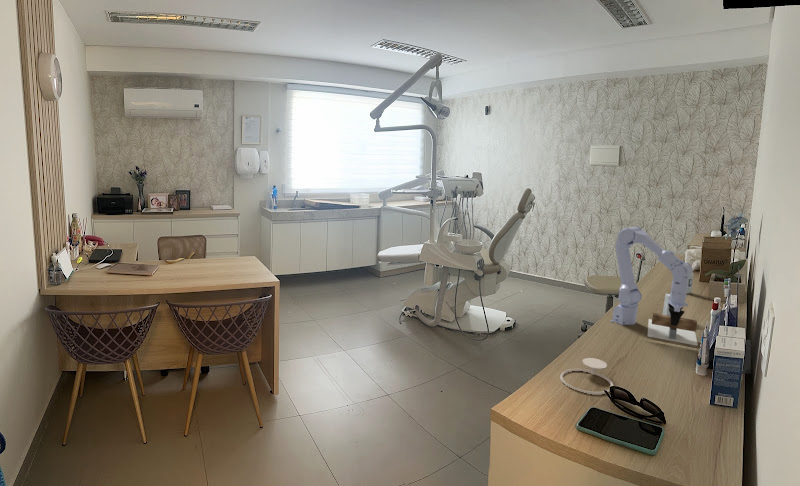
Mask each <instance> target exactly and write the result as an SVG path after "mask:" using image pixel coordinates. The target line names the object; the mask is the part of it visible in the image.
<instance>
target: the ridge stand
mask: <svg viewBox="0 0 800 486" xmlns="http://www.w3.org/2000/svg"><path fill="white" fill-rule="evenodd" d="M647 337H650V338H655V339H658V340H657V341H658V342H659V341H660V340H663V341H662V342H664V343H665V341H670V342H672V344H674V345H675V343H673V342H676V343H677V345H680V344H678V343H681V344H685V345H691V346H693V348H696V347H694V346H697V347H698V340H697V339H698V338H697V335H696V332H694V331H688V330H682V329H677V328H671V327H666V326H660V325H655V324H652V319H651V318H648V324H647ZM646 339H648V338H646ZM648 340H649V339H648ZM664 340H665V341H664ZM670 342H667V343H670ZM691 346H688V347H690V348H691Z"/></svg>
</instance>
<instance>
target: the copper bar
mask: <svg viewBox="0 0 800 486" xmlns="http://www.w3.org/2000/svg"><path fill="white" fill-rule="evenodd" d="M652 324H655V325H660V326H666V327H671V328H677V329H682V330H688V331H694V332H695V333H696V331H697V326H698V321H697V319H690V318H687V317H686V318H685V317H684V318H683V317H681V318H680V320H679V323H678V325H677V326H673V325H671V316H668V315H663V313H662V314H661V313H655V312H652Z"/></svg>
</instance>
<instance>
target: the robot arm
mask: <svg viewBox="0 0 800 486" xmlns="http://www.w3.org/2000/svg"><path fill="white" fill-rule="evenodd" d="M634 244H642V245H644V246H645V247H646V248H647V249H648V250H650V251H651V252H653V254H655V255H656V256H657V260H658V261H659V262H660V263H661V264H662V265H663V266H664V267H666V268H667V270H669V271H670V272H671V275H672V281H671V289H670V293H669V294H670V299H669V302H668V305H669V312H670V316H671V325H673V326H677V325H678V323H679V320H680V318H682V317H683V315H684V314H685V310H683V308H684V307H685V306H686V307H688V306H689V303H688V302H686V299H687V295H688V294H687V288H688V281H689V277H688V276H689V275H691V274H692V273H693V267H692V266H691V264H690V263H689V262H684V260H683V259H680V257H678V256H677V255H675V252H674V251H671V250H668V249H667V250H665V249H663V247H661V245H659V243H658V242H656V240H654V239H653V238H652V237H651V236H650V235H649V234H648V233H647V231H646V230H644V229H643V228H641V227H640V226H630V227H624V228H622V229H621V230H620V231H619V232H618V233H617V239H616V242H615V245H614V246H615V247H614V248H615V254H616V260H617V264H618V273H619V277H620V278H619V279H620V284H621V285H620V287H619V290H618V292H619V294H618V296H617V297H618V302H619V304H618V305H616V306H614V307H613V313H612V320H611V319H610V322H611V323H614V322H615V323H617V324H619V325H620V326H626V325H628V326H629V325H631V326H633V325H636V323H637V314H638V309H639V302H641V300H642V298H643V296H642V293H641V292H640V291H641V290H639V286H638V285H637V284H636V282H635V278H634V277H635V276H634V271H633V265H632V258H631V253H630V248H631V247H632V246H633V245H634Z"/></svg>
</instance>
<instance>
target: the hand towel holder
mask: <svg viewBox="0 0 800 486" xmlns="http://www.w3.org/2000/svg"><path fill="white" fill-rule="evenodd" d="M581 362H582V364H583V365H585V367H587V368H590V369H585V368H569V369H566V370H564V371H563V372H561V374H560V376H559V380H560V381H561V383H562V382H563V383H564V384H565V385H564V384H563V383H562V384H563V385H564V386H566V387H567V386H568V387H567V388H569V387H570V388H572V389H574V390H573V391H575V390H577V391H581V392H584V393H587V394H586V395H590V394H592V396H603V395H602V394H604V393H605V392H604V391H607V392H609V389H606V390H603V391H590V390H584V389H580V388H579V387H578V388H577V387H575V386H573V385H571V384H569V383H568V382H566V381H565V379H564V377H565V375H566V374H568V372H569V373H573V372H572V371H583V372H582V373H586V372H588V373H587V374H590V375H592V376H597V377H600V378H602V379H604V380H605V381H607V382H608V384H609V386H610V387H611V386H614V387H615V385H614V382H613V381H612V380H611V379H610V378H609V377H607V375H604V374H603V373H600V372H597V370H604V369H606V368H607V367H608V363H606V361H604V360H602V359H598V358H594V357H593V358H592V357H588V358H583V359H582V361H581ZM564 374H565V375H564ZM570 388H569V389H570ZM572 389H571V390H572ZM577 391H576V392H577ZM581 392H580V393H581ZM584 393H583V394H584Z"/></svg>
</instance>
